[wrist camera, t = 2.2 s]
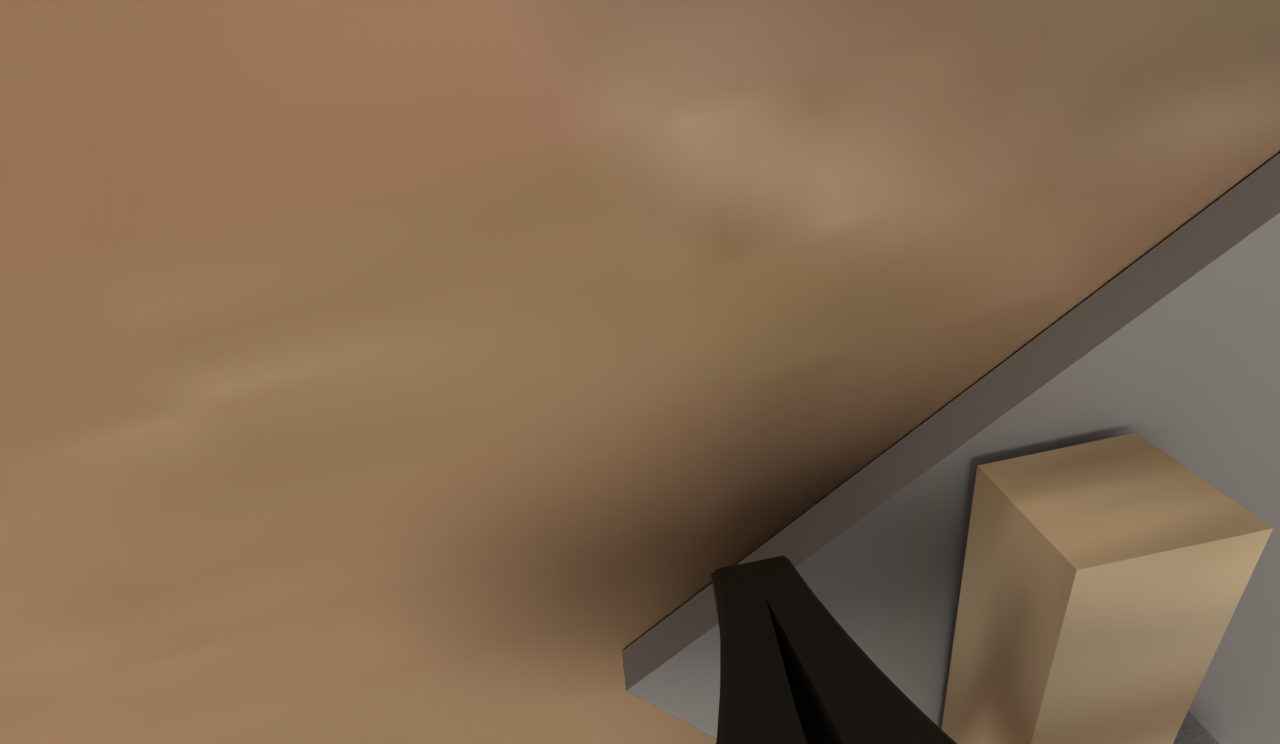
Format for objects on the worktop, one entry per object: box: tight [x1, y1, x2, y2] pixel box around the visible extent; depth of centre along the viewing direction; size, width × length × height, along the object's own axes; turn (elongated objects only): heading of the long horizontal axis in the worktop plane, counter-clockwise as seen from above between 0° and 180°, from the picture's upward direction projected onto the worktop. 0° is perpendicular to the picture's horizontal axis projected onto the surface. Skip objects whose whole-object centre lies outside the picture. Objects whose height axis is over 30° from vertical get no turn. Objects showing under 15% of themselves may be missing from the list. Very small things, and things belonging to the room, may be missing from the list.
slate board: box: [622, 153, 1280, 744], centre depth 16 cm, size 18×18×1 cm
